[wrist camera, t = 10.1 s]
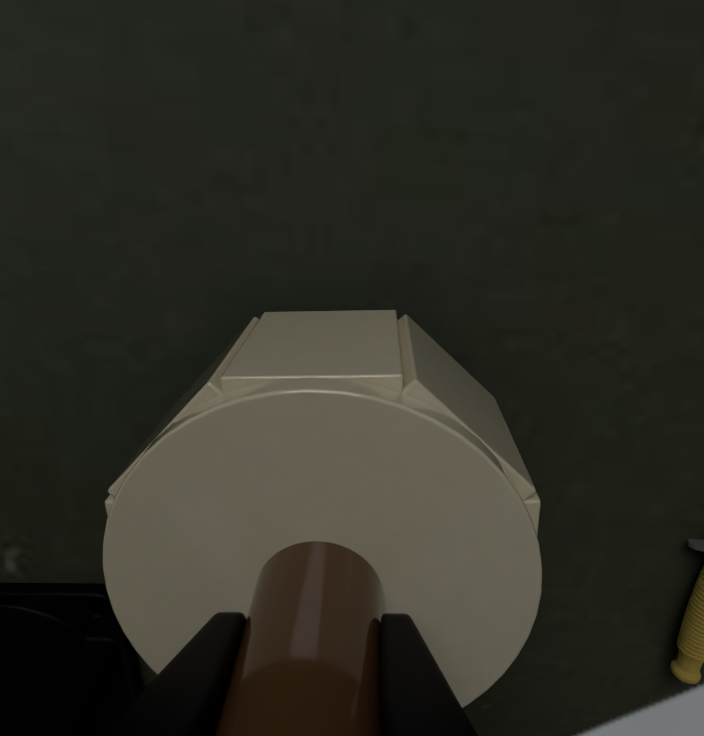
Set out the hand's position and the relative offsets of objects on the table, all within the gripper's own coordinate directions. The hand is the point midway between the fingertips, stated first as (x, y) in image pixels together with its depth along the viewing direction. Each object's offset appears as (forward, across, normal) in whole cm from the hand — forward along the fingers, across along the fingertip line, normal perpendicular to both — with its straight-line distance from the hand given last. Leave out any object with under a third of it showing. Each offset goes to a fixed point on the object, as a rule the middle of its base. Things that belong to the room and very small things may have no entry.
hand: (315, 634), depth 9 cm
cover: (+5, 0, 0) cm, 5 cm away
